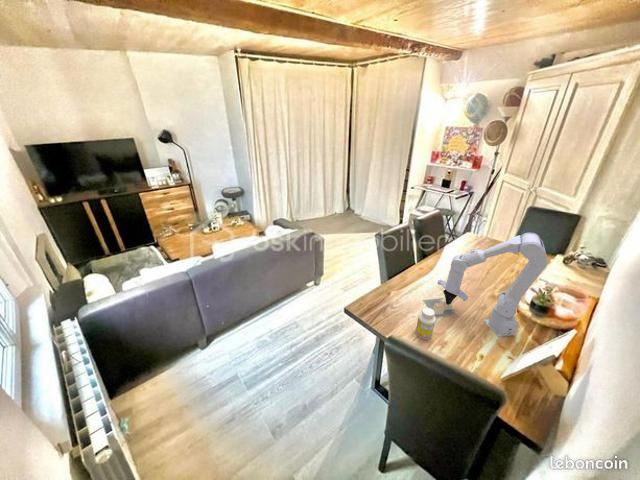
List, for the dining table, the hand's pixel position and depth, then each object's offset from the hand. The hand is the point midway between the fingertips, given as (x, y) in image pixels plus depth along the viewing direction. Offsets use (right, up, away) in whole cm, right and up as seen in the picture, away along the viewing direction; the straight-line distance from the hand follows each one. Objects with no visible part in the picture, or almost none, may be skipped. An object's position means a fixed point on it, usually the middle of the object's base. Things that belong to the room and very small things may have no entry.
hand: (448, 303), depth 117 cm
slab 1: (-6, -4, -1) cm, 7 cm away
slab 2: (0, -2, 0) cm, 2 cm away
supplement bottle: (-17, -10, -11) cm, 23 cm away
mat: (-3, -3, +3) cm, 5 cm away
